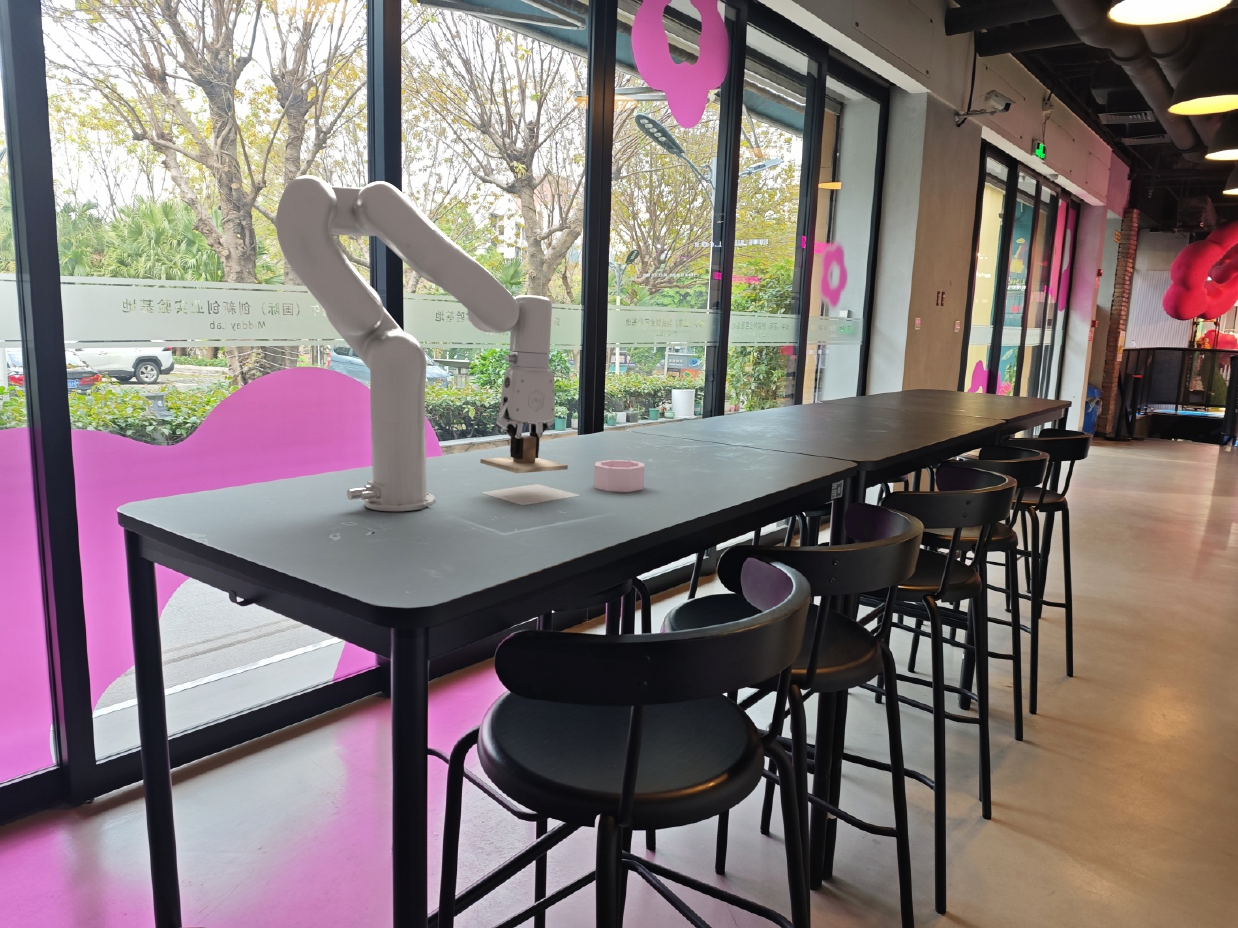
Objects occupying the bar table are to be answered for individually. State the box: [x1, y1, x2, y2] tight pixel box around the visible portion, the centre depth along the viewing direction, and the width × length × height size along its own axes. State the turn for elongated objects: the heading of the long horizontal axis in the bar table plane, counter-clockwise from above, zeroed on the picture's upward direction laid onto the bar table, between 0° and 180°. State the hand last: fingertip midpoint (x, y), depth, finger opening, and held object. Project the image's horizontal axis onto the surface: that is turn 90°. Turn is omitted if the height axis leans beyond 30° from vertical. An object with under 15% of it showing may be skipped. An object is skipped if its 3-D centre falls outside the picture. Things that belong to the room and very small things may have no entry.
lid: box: [479, 434, 569, 474], centre depth 161 cm, size 12×12×6 cm
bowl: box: [593, 459, 645, 493], centre depth 172 cm, size 10×10×5 cm
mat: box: [480, 483, 581, 506], centre depth 163 cm, size 14×14×1 cm
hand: (524, 456), depth 161 cm, fingers closed on lid, 3 cm apart
